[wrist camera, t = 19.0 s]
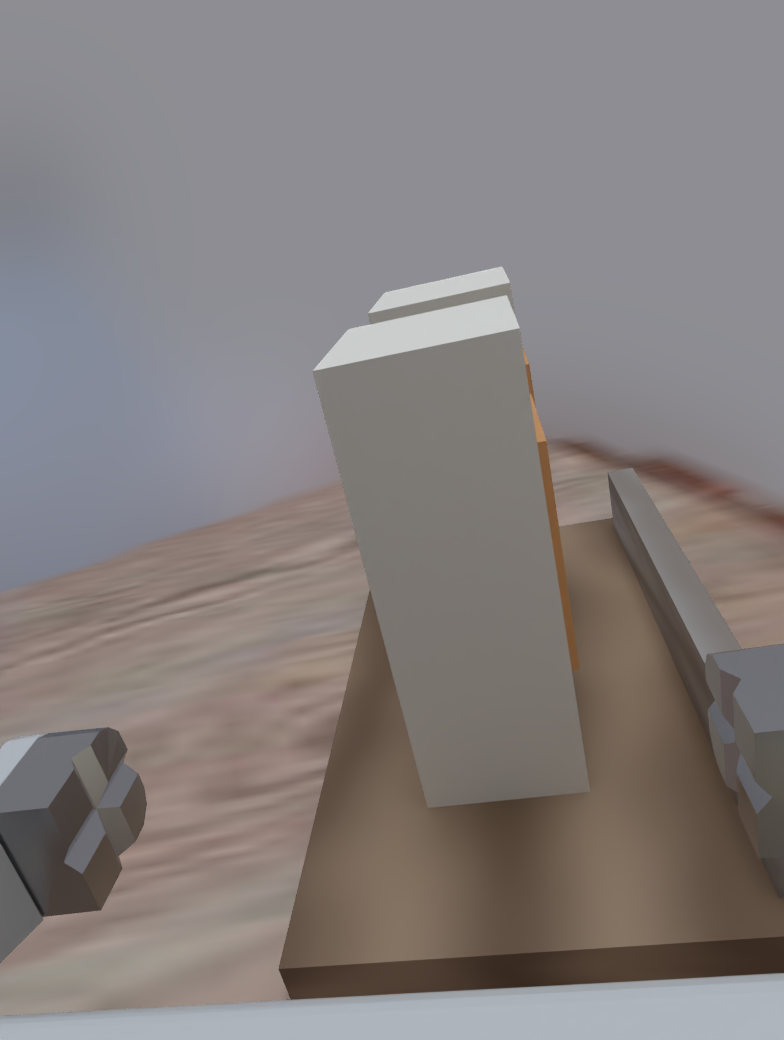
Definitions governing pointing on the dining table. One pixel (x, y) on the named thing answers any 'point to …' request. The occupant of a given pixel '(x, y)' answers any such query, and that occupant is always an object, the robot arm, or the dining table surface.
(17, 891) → the robot arm
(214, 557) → the dining table surface
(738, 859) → the shelf board
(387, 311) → the carton
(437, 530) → the cream carton
